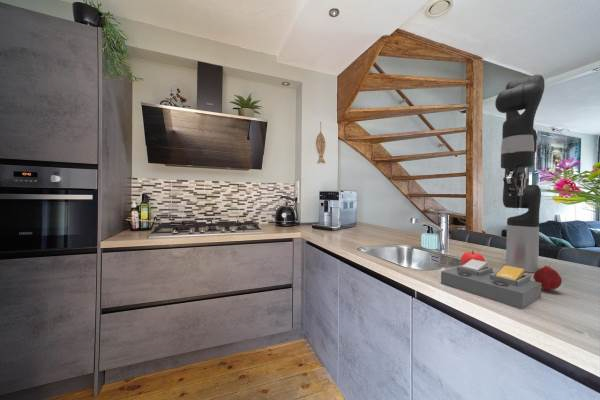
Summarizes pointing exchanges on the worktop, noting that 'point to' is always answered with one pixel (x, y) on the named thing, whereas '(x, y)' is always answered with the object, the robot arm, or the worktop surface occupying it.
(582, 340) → the worktop surface
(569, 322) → the worktop surface
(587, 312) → the worktop surface
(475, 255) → the apple
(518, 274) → the amber rocker
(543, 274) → the red rounded lump
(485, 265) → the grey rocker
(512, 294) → the grey flat block
